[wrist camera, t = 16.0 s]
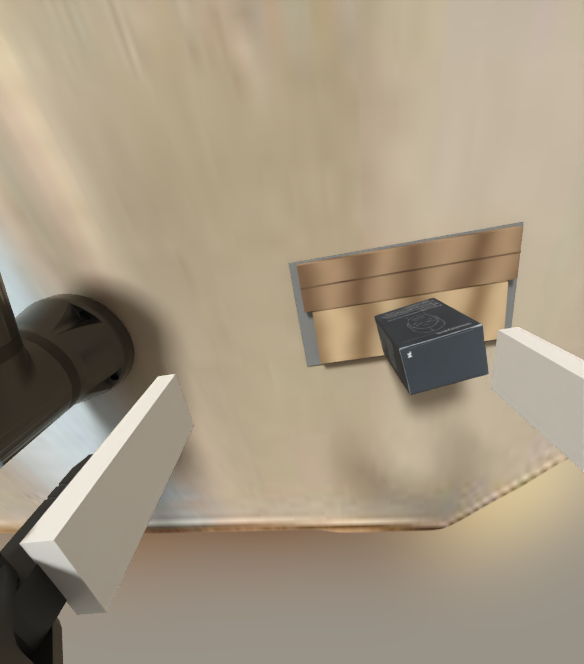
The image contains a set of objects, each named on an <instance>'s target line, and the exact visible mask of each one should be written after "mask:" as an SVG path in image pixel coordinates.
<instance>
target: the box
mask: <svg viewBox="0 0 584 664" xmlns="http://www.w3.org/2000/svg"><path fill="white" fill-rule="evenodd" d="M374 318H375V322H376V326H377V330H378V333H379V337H380V341H381V345H382V349H383V353H384V354H385V356H386V357H387V359H388V361H389V362H390V364H391V365H392V367H393V369H394V370H395V372H396V373H397V375H398V376H399V378H400V380H401V381H402V383H403V384H404V386H405V388H406V389H407V390H408V392H409V394H410V395H413V394H416V393H420V392H423V391H427V390H431V389H435V388H438V387H442V386H446V385H449V384H453V383H457V382H461V381H464V380H468V379H472V378H475V377H479V376H483V375H487V374H489V373H488V364H487V356H486V348H485V341H484V332H483V325H482V324H481V323H479V322H477V321H476V320H474V319H472V318H470V317H468V316H466V315H465V314H463V313H461V312H459V311H457V310H456V309H454V308H452V307H450V306H448V305H446V304H445V303H443V302H441V301H439V300H437V299H436V298H430V299H427V300H424V301H421V302H417V303H414V304H411V305H408V306H405V307H401V308H398V309H395V310H392V311H389V312H386V313H382V314H379V315H376V316H374Z"/></svg>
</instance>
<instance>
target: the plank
mask: <svg viewBox="0 0 584 664" xmlns="http://www.w3.org/2000/svg"><path fill="white" fill-rule="evenodd" d="M507 291H508V281H507V280H506V281H499V282H493V283H487V284H481V285H474V286H468V287H462V288H455V289H449V290H443V291H437V292H430V293H424V294H418V295H411V296H405V297H399V298H392V299H386V300H380V301H374V302H367V303H361V304H355V305H348V306H342V307H336V308H330V309H323V310H317V311H312V313H313V319H314V325H315V332H316V338H317V344H318V351H319V357H320V363H321V364H324V363H331V362H338V361H345V360H353V359H360V358H367V357H374V356H381V355H385V354H384V353H383V349H382V345H381V341H380V337H379V333H378V330H377V326H376V322H375V318H374V316H376V315H379V314H382V313H386V312H389V311H392V310H395V309H398V308H401V307H405V306H408V305H411V304H414V303H417V302H421V301H424V300H427V299H430V298H436V299H437V300H439V301H441V302H443V303H445V304H446V305H448V306H450V307H452V308H454V309H456V310H457V311H459V312H461V313H463V314H465V315H466V316H468V317H470V318H472V319H474V320H476V321H477V322H479V323H481V324H482V325H483V332H484V341H488V340H495V339H497V333H498V330H500V329H504V328H505V316H506V304H507Z"/></svg>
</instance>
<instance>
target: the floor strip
mask: <svg viewBox="0 0 584 664" xmlns="http://www.w3.org/2000/svg"><path fill="white" fill-rule="evenodd" d="M522 233H523V227H521V226H512V227H506V228H501V229H495V230H489V231H484V232H478V233H472V234H467V235H461V236H455V237H450V238H444V239H438V240H433V241H427V242H421V243H416V244H410V245H404V246H399V247H393V248H387V249H382V250H376V251H370V252H365V253H359V254H353V255H348V256H342V257H336V258H331V259H325V260H319V261H314V262H308V263H302V264H297V271H298V277H299V283H300V289H301V294H302V300H303V306H304V312H311V311H317V310H323V309H330V308H336V307H342V306H348V305H355V304H361V303H367V302H374V301H380V300H386V299H392V298H399V297H405V296H411V295H418V294H424V293H430V292H437V291H443V290H449V289H455V288H462V287H468V286H474V285H481V284H487V283H493V282H499V281H506V280H512V279H517V276H518V267H519V259H520V253H521V251H520V250H521V241H522Z"/></svg>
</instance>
